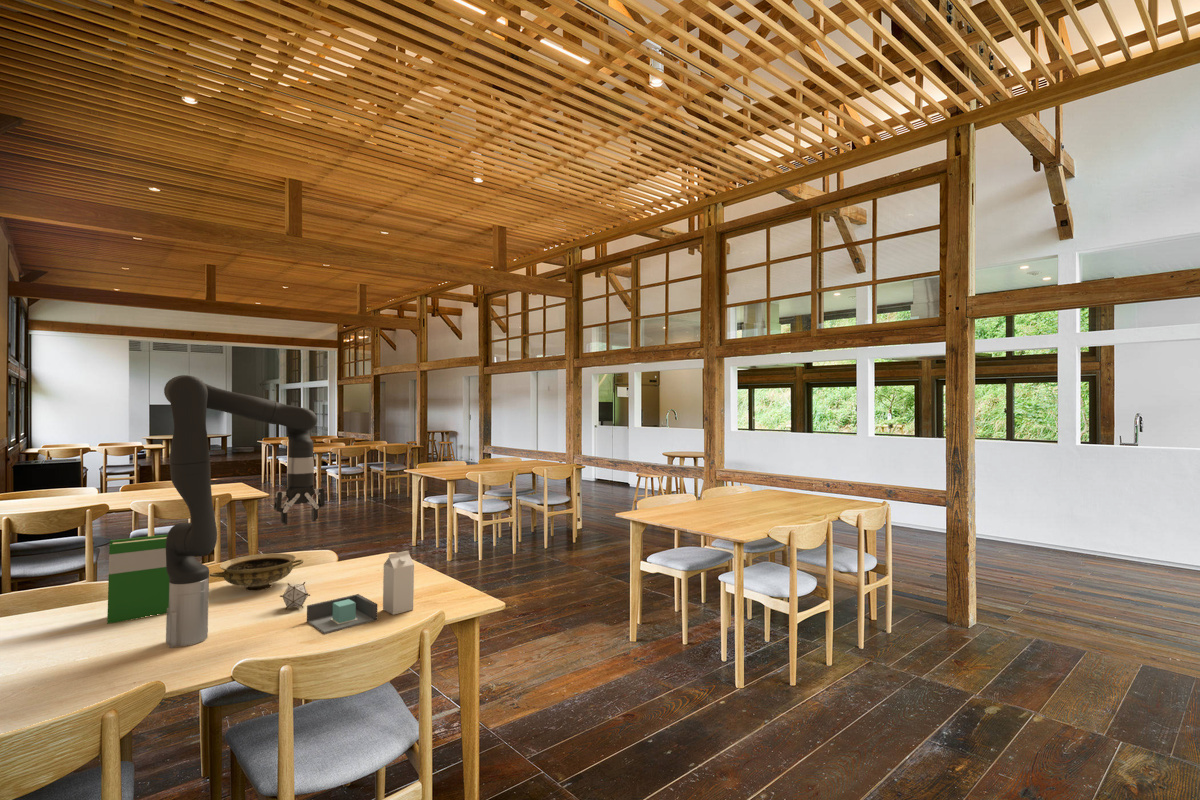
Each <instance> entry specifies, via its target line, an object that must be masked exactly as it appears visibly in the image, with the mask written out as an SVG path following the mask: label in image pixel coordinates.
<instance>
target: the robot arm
mask: <svg viewBox="0 0 1200 800" xmlns="http://www.w3.org/2000/svg"><path fill="white" fill-rule="evenodd" d="M163 393H164V394H163V395H164V396H165V398H166V400H167V401H168V402H169V404H170V408H171V413H172V420H173V433H172V434H173V435H172V437H171V438H172V439H171V445H170V454H169V470H170V471H169V472H170V479H171V482H172V485H173V486H174V488H175V489H176V492H177V493H178V494H179V496H180V497H181V498H182V500H183V501H184V503H185V504H186V505H187V508H188V511H189V516H190V521H191V522H178V523H176V524H175V525H173V526H172V527H171V528H170V529H169V531H168V532H167V534H166V535H167V538H166V570H167V573H168V576H169V608H167V614H166V619H165V622H166V623H165V625H166V626H165V643H166V645H167V646H168V647H169V648H170V649H171V648H176V647H177V648H178V647H179V648H180V647H188V646H191V645H192V646H193V645H197V644H199V643H201V642H203V641H205V640H206V639H208V635H209V634H208V632H209V628H208V627H209V596H210V595H209V593H210V592H209V590H210V586H209V585H210V568H209V567H208V566H207V565H205V564H203V563H201V562H200V561H198V560H197V558H196V557H206V556H208V555H210V554H211V553H212V552H213V551H214V549H215V548H216V545H217V542H218V529H217V523H216V522H217V521H216V516H215V511H214V505H213V496H212V481H211V475H212V473H211V455H210V453H211V452H210V445H209V439H208V432H207V431H208V430H207V409H210V410H216V411H220V412H224V413H226V414H227V413H228V414H231V415H235V416H238V417H241V418H245V419H249V420H251V421H255V422H260V423H265V424H270V425H278V426H279V425H280V426H283V427H286V432H287V433H286V434H287V439H288V459H287V463H286V464H287V467H286V489H285V491H279V490H276V491H275V493H274V494H275V495H274V505H273V510H274V511H276V512H279V513H280V523H281V524H282V525H284V526H285V525H288V511H289V510H290V508H292V507H293V505H299V504H308V505H309V506H311V510H310V511H311V513H310V514H311V515H310V516H311V517H310V519H311V522H316V521H317V520H318V519H319V509H320V508H324V507H325V502H326V501H325V489H324V488H323V487H317V488H315V487H314V486H315V482H314V481H315V461H314V441H313V439H311V431H310V430H312V429H313V428H315V427H316V425H317V422H318V417H317V414H316V413H315V412H314V411H313V410H312V409H309V408H306V407H300V406H296V405H295V406H294V405H291V404H290V405H289V404H284V403H281V402H278V401H275V400H272V399H271V400H270V399H267V398H263V397H260V396H259V397H258V396H254V395H249V394H244V393H239V392H234V391H229V390H225V389H222V388H219V387H215V386H213V385H210V384H208V383H205V382H204V381H203V380H201V379H200V378H198V377H196V376H192V375H185V374H184V375H176V376H174V377H172V378H171V379H169V380H168V381H167V382H166V383H165V386H164V388H163ZM314 494H315V495H317V503H316V500H314V499H313V496H314ZM285 497H287V499H286V500H285V501H284V503H283V505H282V500H283V499H284V498H285ZM187 645H188V646H187Z"/></svg>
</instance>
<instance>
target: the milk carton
mask: <svg viewBox="0 0 1200 800" xmlns="http://www.w3.org/2000/svg"><path fill="white" fill-rule="evenodd" d="M414 573H415V563H414V561H413V559H412V557H411V555H410V550H404V551H399V552H393V553H388V558H387V559H386V561H385V562H384V563H383V577H382V578H383V581H382V584H383V586H382V587H383V588H382V610H383V611H384V612H387V613H389V614H391V615H398V614H401V613H406V612H410V611H413V610H414V597H415V596H414V592H415V591H414V587H415V586H414V585H415V574H414Z"/></svg>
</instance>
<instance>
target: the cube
mask: <svg viewBox="0 0 1200 800" xmlns="http://www.w3.org/2000/svg"><path fill="white" fill-rule="evenodd" d="M355 618H356V603H355V602H353V601H351V600H350V599H347V600H343V601H339V602H334V603H333V620H335V621H337V622H338V623H342V622H346V621H350V620H353V619H355Z"/></svg>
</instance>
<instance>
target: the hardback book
mask: <svg viewBox="0 0 1200 800" xmlns="http://www.w3.org/2000/svg"><path fill="white" fill-rule="evenodd" d="M167 535H168V534H160V535H150V536H149V535H148V536H139V537H131V538H122V539H111V540H109V550H108V551H109V553H108V583H107V584H108V586H107V587H108V588H107V590H108V591H107V619H106V624H109V625H110V624H114V623H115V624H116V623H121V622H126V620H127V621H131V619H133V620H137V619H136V618H138V619H142V618H141V617H144V618H146V617H145V616H150V615H156V616H158V615H157V614H161V615H165V614H164V613H167V608H169V576H168V573H167V570H166V538H167ZM150 617H151V616H150Z"/></svg>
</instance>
